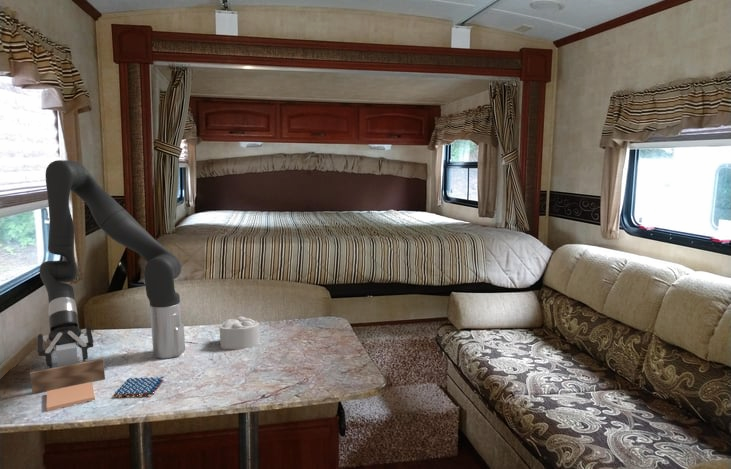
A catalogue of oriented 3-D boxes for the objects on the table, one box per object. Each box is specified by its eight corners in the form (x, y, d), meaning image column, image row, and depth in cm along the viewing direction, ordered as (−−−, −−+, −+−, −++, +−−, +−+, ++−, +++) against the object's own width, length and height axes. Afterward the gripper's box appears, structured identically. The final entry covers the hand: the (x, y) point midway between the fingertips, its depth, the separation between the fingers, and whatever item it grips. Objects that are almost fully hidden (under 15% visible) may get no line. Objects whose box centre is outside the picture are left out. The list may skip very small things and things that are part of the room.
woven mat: (127, 383, 147) (127, 376, 147) (164, 382, 148) (164, 375, 148) (112, 400, 137) (111, 393, 137) (152, 399, 138) (151, 392, 137)
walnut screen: (104, 377, 150) (103, 358, 149) (105, 379, 149) (103, 359, 148) (32, 392, 141) (30, 372, 140) (32, 394, 140) (30, 373, 139)
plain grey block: (78, 373, 153) (75, 342, 151) (79, 380, 148) (76, 347, 147) (59, 377, 150) (56, 345, 149) (59, 384, 146) (56, 351, 144)
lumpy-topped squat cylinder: (225, 338, 182) (224, 315, 180) (261, 337, 182) (260, 314, 181) (218, 349, 171) (217, 325, 170) (257, 348, 172) (256, 324, 171)
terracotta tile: (92, 384, 145) (91, 381, 145) (95, 400, 136) (94, 396, 136) (47, 394, 139) (46, 391, 139) (46, 411, 130) (46, 407, 130)
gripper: (34, 313, 149) (37, 363, 141) (89, 305, 156) (95, 352, 148) (36, 325, 154) (40, 374, 146) (89, 317, 162) (95, 363, 154)
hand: (67, 363), depth 147 cm, fingers open, 8 cm apart
